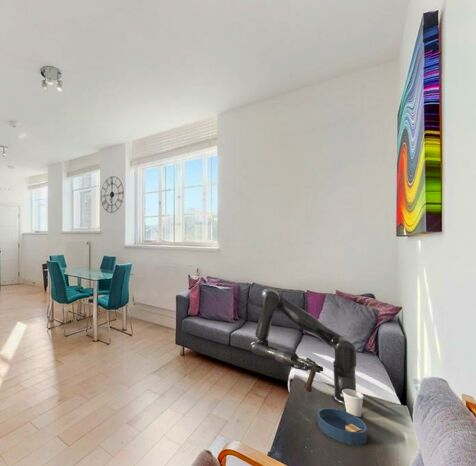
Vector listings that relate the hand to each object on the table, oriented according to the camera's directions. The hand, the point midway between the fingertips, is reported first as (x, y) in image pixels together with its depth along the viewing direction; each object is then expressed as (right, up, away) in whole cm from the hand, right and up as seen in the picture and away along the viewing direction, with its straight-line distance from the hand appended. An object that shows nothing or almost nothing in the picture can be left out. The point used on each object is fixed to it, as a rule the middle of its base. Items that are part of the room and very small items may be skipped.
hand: (321, 370), depth 136 cm
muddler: (-3, -13, +6) cm, 14 cm away
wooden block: (+3, -22, -15) cm, 27 cm away
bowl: (+1, -22, -11) cm, 25 cm away
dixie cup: (+17, -22, +1) cm, 28 cm away
